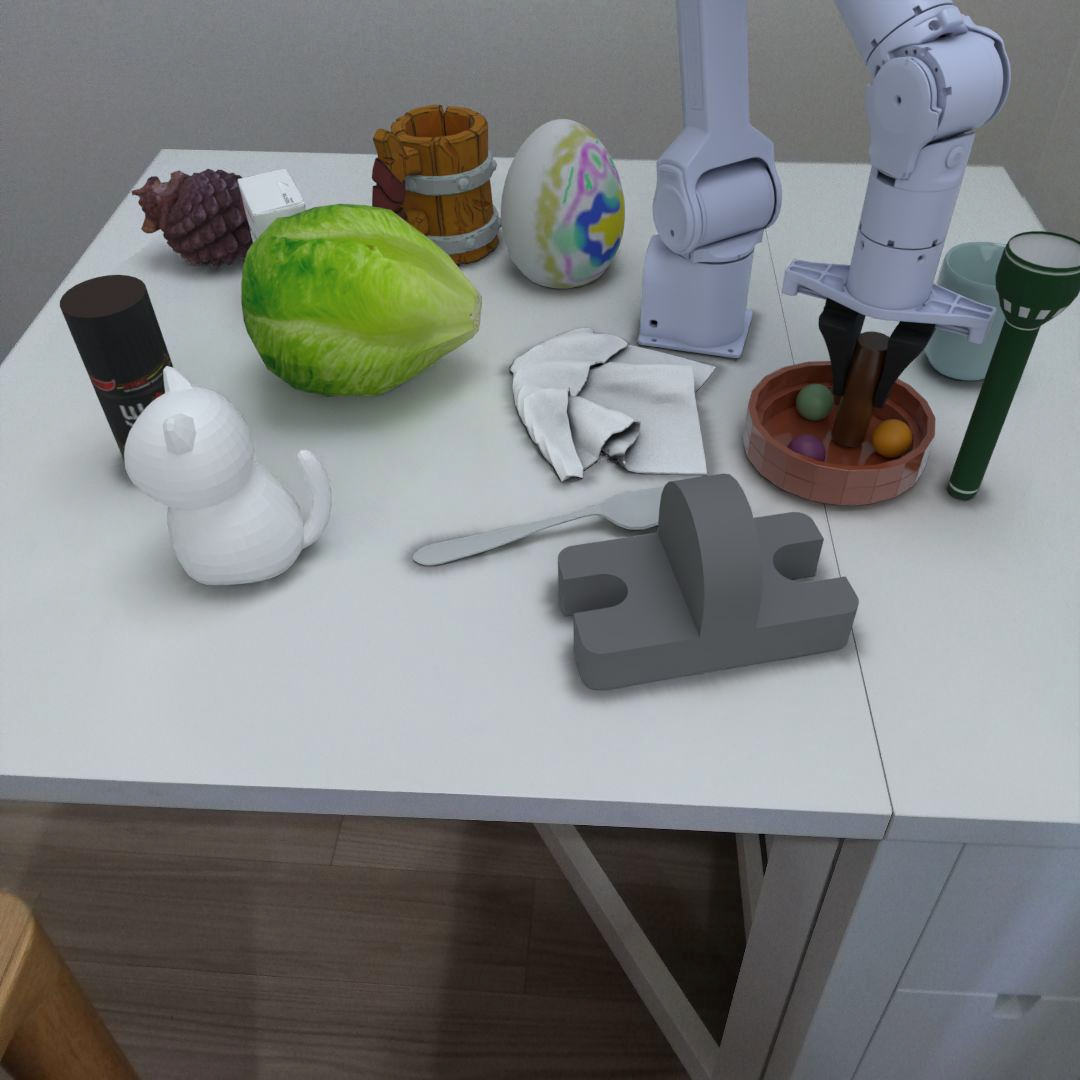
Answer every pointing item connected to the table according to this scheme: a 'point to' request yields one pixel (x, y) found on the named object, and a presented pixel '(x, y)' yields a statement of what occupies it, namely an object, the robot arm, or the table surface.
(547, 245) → the decorative egg
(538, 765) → the table surface
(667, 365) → the cloth
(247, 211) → the ink box
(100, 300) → the deodorant
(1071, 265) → the flashlight
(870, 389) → the stick
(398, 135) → the mug
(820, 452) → the plum bead
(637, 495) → the spoon
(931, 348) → the cup
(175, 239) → the pine cone
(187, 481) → the cat figurine
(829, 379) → the bowl
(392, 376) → the lettuce
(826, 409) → the sage bead
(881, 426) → the amber bead
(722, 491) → the bracket
